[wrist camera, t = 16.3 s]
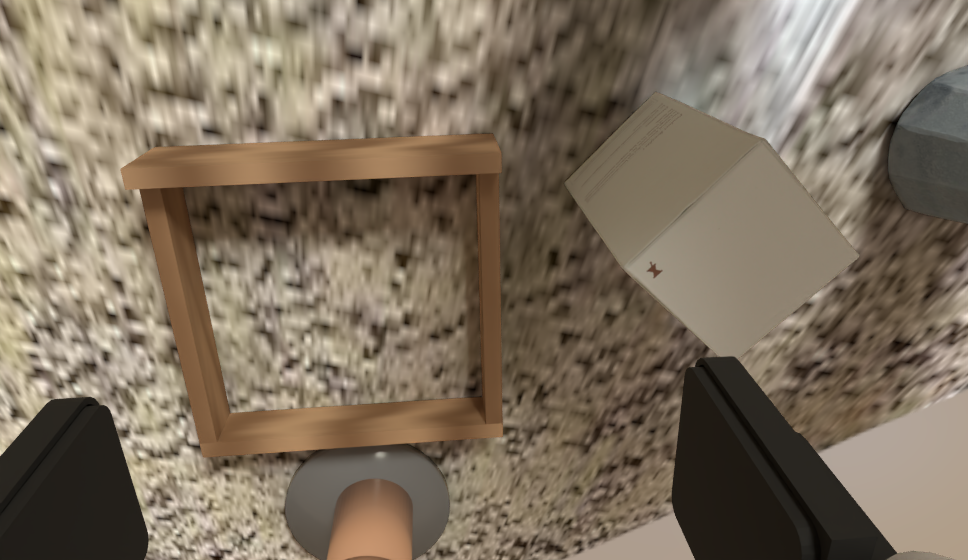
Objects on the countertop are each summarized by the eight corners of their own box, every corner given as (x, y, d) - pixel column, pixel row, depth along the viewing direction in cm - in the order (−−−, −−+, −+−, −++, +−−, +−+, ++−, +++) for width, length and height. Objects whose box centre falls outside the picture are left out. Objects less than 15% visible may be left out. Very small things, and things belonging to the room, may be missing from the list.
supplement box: (642, 263, 41) (726, 374, 30) (559, 181, 39) (617, 268, 27) (738, 176, 40) (867, 259, 28) (658, 85, 37) (764, 134, 26)
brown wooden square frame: (492, 133, 37) (501, 152, 33) (497, 408, 45) (505, 452, 41) (154, 147, 36) (120, 169, 32) (216, 427, 44) (195, 474, 39)
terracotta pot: (416, 470, 45) (414, 565, 38) (421, 539, 48) (421, 640, 40) (324, 477, 45) (305, 574, 38) (334, 546, 47) (318, 649, 40)
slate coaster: (445, 430, 45) (445, 438, 44) (452, 555, 50) (452, 564, 49) (276, 442, 44) (273, 450, 44) (298, 567, 49) (296, 577, 48)
